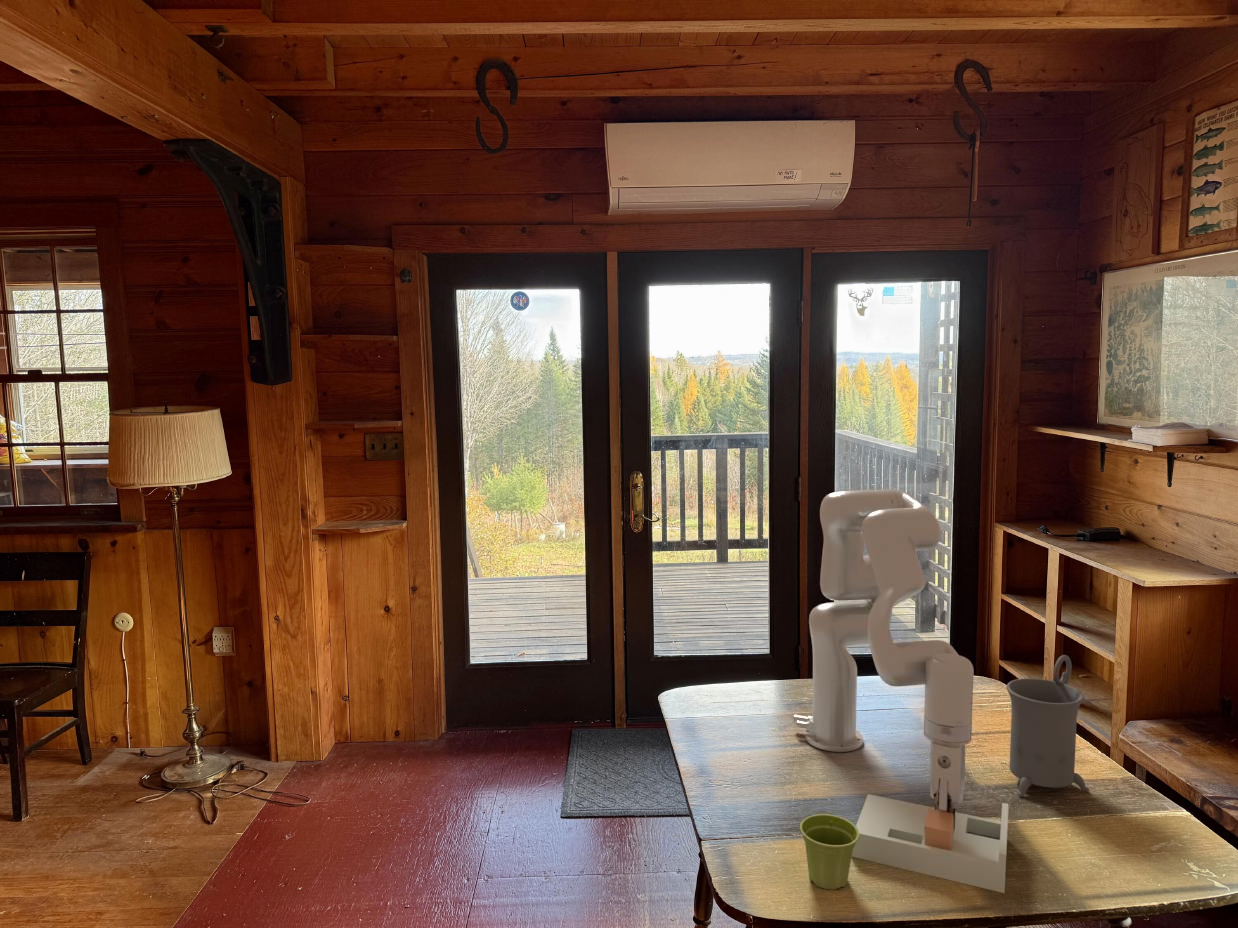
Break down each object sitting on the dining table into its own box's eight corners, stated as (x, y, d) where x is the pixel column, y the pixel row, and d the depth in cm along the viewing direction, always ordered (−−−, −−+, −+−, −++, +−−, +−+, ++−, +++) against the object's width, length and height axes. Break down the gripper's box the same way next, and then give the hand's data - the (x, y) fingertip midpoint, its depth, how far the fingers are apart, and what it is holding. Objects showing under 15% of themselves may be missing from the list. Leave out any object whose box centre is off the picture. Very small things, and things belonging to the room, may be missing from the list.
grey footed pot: (1057, 813, 155) (1063, 684, 152) (983, 782, 167) (987, 662, 164) (1103, 782, 166) (1110, 662, 164) (1030, 755, 178) (1035, 643, 175)
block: (925, 847, 139) (924, 825, 137) (928, 829, 143) (928, 807, 141) (950, 854, 138) (950, 831, 136) (953, 835, 141) (953, 813, 139)
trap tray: (850, 856, 142) (851, 820, 142) (867, 808, 158) (868, 776, 157) (1004, 893, 132) (1006, 854, 131) (1007, 838, 147) (1008, 803, 146)
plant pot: (859, 867, 139) (860, 818, 138) (856, 901, 130) (857, 849, 129) (802, 857, 142) (803, 809, 141) (796, 890, 133) (796, 839, 132)
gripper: (968, 750, 132) (964, 858, 134) (974, 715, 146) (970, 814, 148) (918, 741, 136) (915, 847, 138) (928, 708, 149) (925, 805, 151)
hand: (944, 830), depth 143 cm, fingers closed
